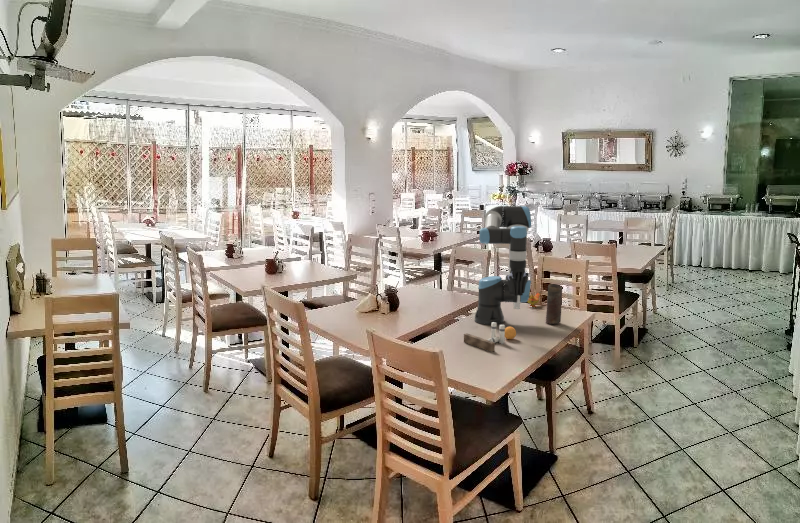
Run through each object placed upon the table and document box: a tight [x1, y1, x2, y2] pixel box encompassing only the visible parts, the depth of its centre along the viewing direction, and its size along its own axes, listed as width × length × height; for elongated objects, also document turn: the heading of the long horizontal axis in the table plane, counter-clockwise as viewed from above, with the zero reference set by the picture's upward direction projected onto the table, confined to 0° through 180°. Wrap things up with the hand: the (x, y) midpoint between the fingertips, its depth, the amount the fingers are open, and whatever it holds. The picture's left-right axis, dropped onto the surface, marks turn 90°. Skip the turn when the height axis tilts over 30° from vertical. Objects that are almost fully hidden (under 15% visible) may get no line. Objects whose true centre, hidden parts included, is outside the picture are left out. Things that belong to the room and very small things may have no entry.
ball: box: [505, 326, 517, 340], centre depth 279 cm, size 6×6×6 cm
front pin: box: [486, 336, 499, 344], centre depth 275 cm, size 2×2×8 cm
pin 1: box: [490, 322, 498, 338], centre depth 277 cm, size 2×2×8 cm
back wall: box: [463, 333, 496, 353], centre depth 269 cm, size 18×2×4 cm, turn 36°
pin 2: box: [498, 324, 506, 345], centre depth 273 cm, size 2×2×8 cm
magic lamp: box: [526, 291, 542, 308], centre depth 340 cm, size 7×18×11 cm, turn 143°
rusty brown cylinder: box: [545, 283, 563, 325], centre depth 303 cm, size 8×7×20 cm
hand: (516, 308), depth 281 cm, fingers closed
